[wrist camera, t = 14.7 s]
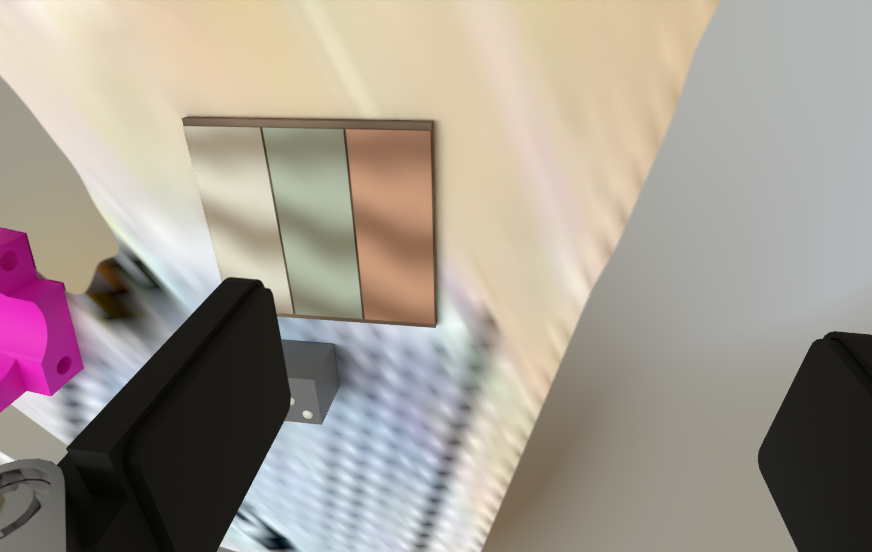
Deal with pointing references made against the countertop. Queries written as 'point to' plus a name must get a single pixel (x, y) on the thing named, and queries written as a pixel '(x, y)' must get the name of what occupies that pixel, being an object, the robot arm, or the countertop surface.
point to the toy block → (32, 326)
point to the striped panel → (323, 213)
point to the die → (310, 379)
